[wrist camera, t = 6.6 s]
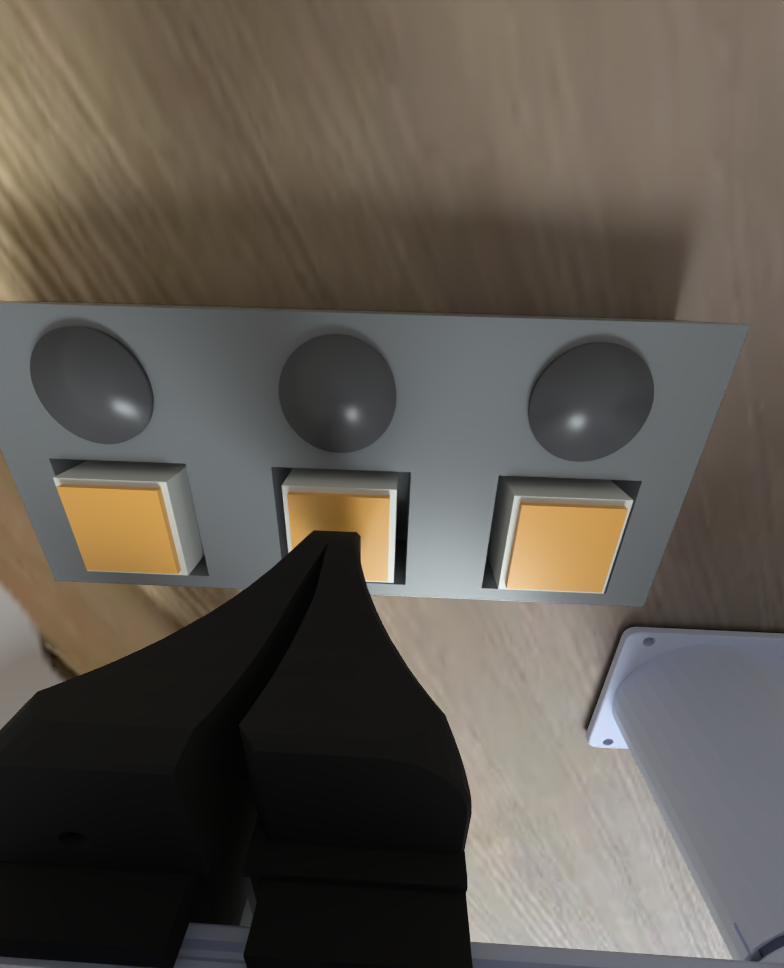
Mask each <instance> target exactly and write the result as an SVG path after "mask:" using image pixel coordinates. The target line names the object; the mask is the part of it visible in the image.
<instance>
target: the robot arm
mask: <svg viewBox="0 0 784 968" xmlns="http://www.w3.org/2000/svg"><path fill="white" fill-rule="evenodd" d="M586 739H587V741H588V743H589V745H591V746H593V747H604V748H623V749H629V750H630V753H631V755H632V757H633V759H634V761H635V763H636V765H637V767H638V769H639V771H640V773H641V775H642V777H643V779H644V781H645V783H646V785H647V787H648V789H649V791H650V793H651V795H652V797H653V799H654V801H655V803H656V805H657V807H658V809H659V811H660V813H661V815H662V817H663V819H664V821H665V823H666V825H667V827H668V829H669V831H670V833H671V835H672V837H673V839H674V841H675V843H676V845H677V847H678V849H679V851H680V853H681V855H682V857H683V860H684V862H685V864H686V866H687V868H688V870H689V872H690V874H691V876H692V878H693V880H694V882H695V884H696V886H697V888H698V890H699V892H700V894H701V896H702V898H703V900H704V902H705V904H706V906H707V908H708V910H709V912H710V914H711V916H712V918H713V920H714V922H715V924H716V926H717V928H718V930H719V932H720V934H721V936H722V938H723V940H724V942H725V944H726V946H727V948H728V950H729V952H730V954H731V956H732V958H733V960H726V959H711V958H697V957H682V956H668V955H653V954H639V953H624V952H610V951H595V950H581V949H566V948H552V947H537V946H523V945H508V944H494V943H479V942H470V933H469V923H468V913H467V902H466V891H467V872H466V862H465V852H464V849H465V844H466V839H467V834H468V828H469V823H470V818H471V795H470V790H469V785H468V781H467V777H466V773H465V769H464V766H463V762H462V759H461V756H460V753H459V750H458V747H457V745H456V742H455V739H454V736H453V734H452V731H451V729H450V726H449V724H448V721H447V719H446V716H445V714H444V713H443V712H442V711H441V709H440V708H439V707H438V706H437V705H436V704H435V702H434V701H433V700H432V699H431V697H430V696H429V695H428V694H427V692H426V691H425V690H424V689H423V687H422V686H421V685H420V683H419V682H418V681H417V679H416V678H415V676H414V675H413V674H412V672H411V671H410V669H409V668H408V667H407V665H406V663H405V662H404V660H403V658H402V657H401V655H400V654H399V652H398V650H397V649H396V647H395V646H394V644H393V642H392V641H391V639H390V637H389V635H388V633H387V631H386V630H385V628H384V626H383V624H382V622H381V620H380V617H379V615H378V613H377V611H376V608H375V606H374V604H373V601H372V599H371V596H370V593H369V590H368V587H367V584H366V581H365V577H364V573H363V569H362V566H361V536H360V535H359V534H358V533H357V532H343V531H320V530H313V531H312V532H311V533H310V534H309V535H308V536H307V537H305V538H304V539H303V540H302V541H301V542H300V543H299V544H298V545H297V546H296V547H295V548H294V549H292V550H291V551H290V552H289V553H288V554H287V555H286V556H285V557H284V558H283V559H281V560H280V561H279V562H278V563H277V564H276V565H275V566H273V567H272V568H271V569H270V570H269V571H268V572H266V573H265V574H264V575H262V576H261V577H260V578H259V579H257V580H256V581H255V582H254V583H252V584H251V585H250V586H249V587H247V588H246V589H245V590H243V591H242V592H240V593H239V594H238V595H236V596H235V597H233V598H232V599H230V600H229V601H227V602H226V603H224V604H223V605H221V606H220V607H218V608H217V609H215V610H213V611H212V612H210V613H209V614H207V615H205V616H204V617H202V618H200V619H198V620H196V621H195V622H193V623H191V624H189V625H187V626H186V627H184V628H182V629H180V630H178V631H177V632H175V633H173V634H171V635H169V636H167V637H166V638H164V639H162V640H160V641H157V642H155V643H153V644H151V645H149V646H147V647H145V648H143V649H141V650H139V651H137V652H134V653H132V654H130V655H128V656H126V657H123V658H121V659H119V660H117V661H114V662H112V663H110V664H107V665H105V666H103V667H100V668H98V669H95V670H93V671H90V672H88V673H85V674H82V675H80V676H77V677H75V678H72V679H70V680H67V681H65V682H62V683H60V684H57V685H54V686H52V687H50V688H46V689H44V690H41V691H38V692H37V693H36V694H35V695H34V696H33V697H32V698H31V699H30V700H29V701H28V702H27V703H26V704H25V705H24V706H23V707H22V708H21V709H20V710H19V711H18V712H17V714H15V716H13V717H12V719H11V720H10V721H9V722H8V723H7V724H6V725H5V726H4V727H3V728H2V729H1V730H0V968H784V634H783V633H762V632H740V631H718V630H696V629H674V628H652V627H631V628H628V629H627V630H625V631H624V633H623V634H622V636H621V639H620V642H619V645H618V647H617V650H616V653H615V656H614V658H613V661H612V664H611V667H610V669H609V672H608V675H607V678H606V680H605V683H604V686H603V689H602V691H601V694H600V697H599V699H598V702H597V705H596V708H595V710H594V713H593V716H592V719H591V721H590V724H589V727H588V730H587V732H586Z"/></svg>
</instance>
